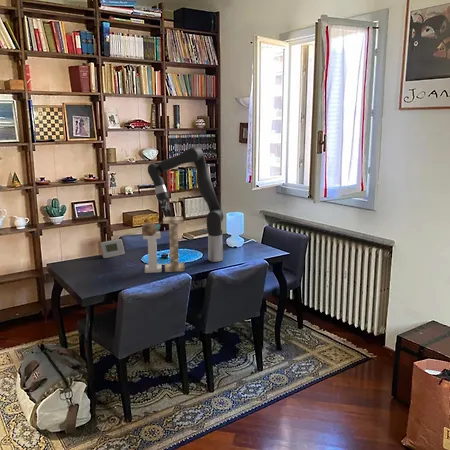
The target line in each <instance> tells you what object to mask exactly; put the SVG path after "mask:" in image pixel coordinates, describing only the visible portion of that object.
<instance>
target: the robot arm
mask: <svg viewBox="0 0 450 450" xmlns="http://www.w3.org/2000/svg"><path fill="white" fill-rule="evenodd" d="M189 163H194V166H195V170H196V185H197V187H198V191H199V194H200V195H201V197H202V198H203V200H204V201H205V202H206V205H207V207H208V210H209V212H208V214H206V231H207V237H208V238H207V244H208V245H207V247H208V248H207V251H208V256H207V258H208V261H210V262H212V263H215V262H222V261H223V260H224V246H223V229H221V226H222V225H221V222H222V221H223V220H224V213H223V210H222V208H221V206H220V203H219V201H218V197H217V195H216V191H215V189H214V185H213V182H212V180H211V177H210V173H209V170H208V167H207V164H206V160H205V155H204V152H203V149H202V148H201V147H200V146H199V147H198V146H193V147H189V148H188V149H186V150H184V151H183V152H182V153H180V154H177V155H175V156H172V157H169V158H167V159H166V158H165V159H163V160H161V161H160V162H159V163H150V164H149V165H148V166H147V173H148V175H149V177H150V179H151V181H152V183H153V187H154V191H155V196H156V199H157V202H159V205H160V210H161V211H162V213H163V217H172V213H171V212H172V211H171V210H172V209H171V205H170V202H169V201H168V200H169V194H168V189H167V187H166V185H165V181H164V178H163V176H160V175H161V174H163V173H165V172H167V171H170V170H172V169H175V168H177V167H178V166H181V165H184V164H189Z"/></svg>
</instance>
